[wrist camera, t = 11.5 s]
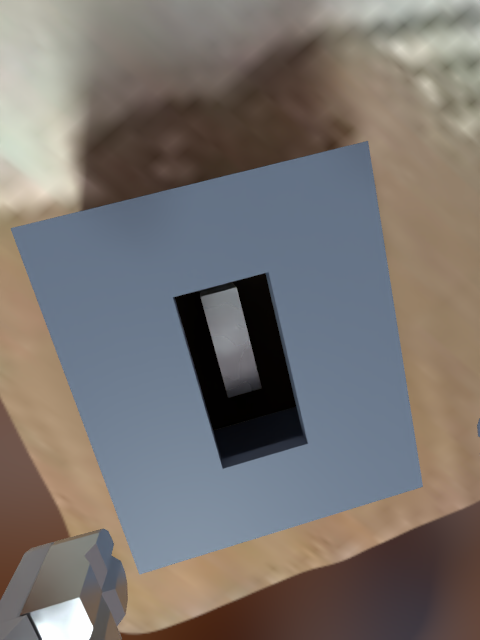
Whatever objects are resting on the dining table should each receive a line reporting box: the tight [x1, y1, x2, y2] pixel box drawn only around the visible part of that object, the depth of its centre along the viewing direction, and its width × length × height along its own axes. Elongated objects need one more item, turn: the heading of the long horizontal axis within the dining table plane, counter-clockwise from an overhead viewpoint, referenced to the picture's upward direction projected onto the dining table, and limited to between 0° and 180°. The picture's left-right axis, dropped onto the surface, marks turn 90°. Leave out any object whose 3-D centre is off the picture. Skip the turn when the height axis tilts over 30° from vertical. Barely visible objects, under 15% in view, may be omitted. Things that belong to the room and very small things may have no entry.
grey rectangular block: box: [199, 282, 262, 398], centre depth 24 cm, size 6×2×5 cm, turn 14°
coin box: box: [11, 141, 423, 574], centre depth 22 cm, size 16×14×10 cm
